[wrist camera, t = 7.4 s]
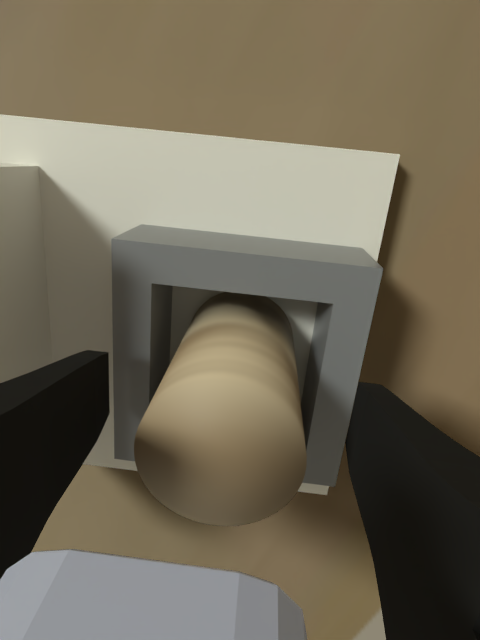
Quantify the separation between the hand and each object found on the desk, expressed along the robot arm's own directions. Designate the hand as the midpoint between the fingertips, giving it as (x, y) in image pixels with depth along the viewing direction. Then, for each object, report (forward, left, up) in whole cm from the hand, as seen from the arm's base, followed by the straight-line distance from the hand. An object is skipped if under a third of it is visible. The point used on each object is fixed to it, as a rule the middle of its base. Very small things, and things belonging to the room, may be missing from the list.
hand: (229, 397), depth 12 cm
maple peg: (0, 0, -4) cm, 4 cm away
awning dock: (0, +2, -5) cm, 6 cm away
